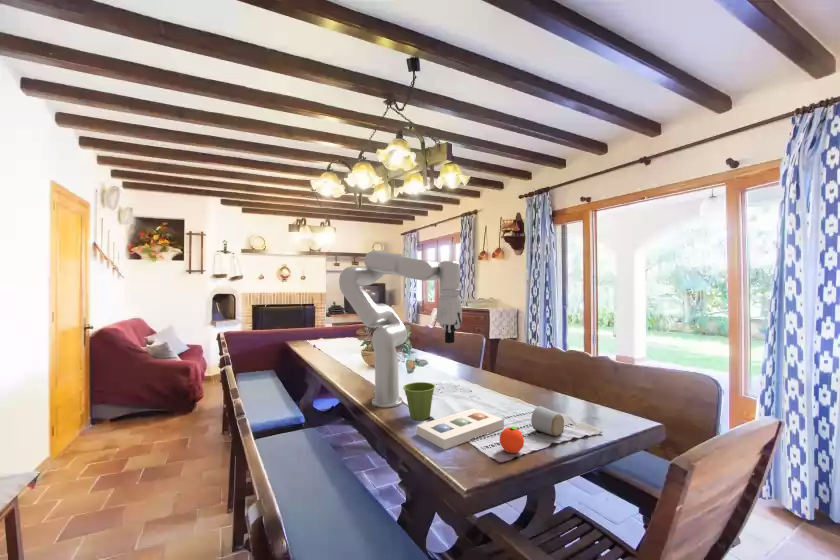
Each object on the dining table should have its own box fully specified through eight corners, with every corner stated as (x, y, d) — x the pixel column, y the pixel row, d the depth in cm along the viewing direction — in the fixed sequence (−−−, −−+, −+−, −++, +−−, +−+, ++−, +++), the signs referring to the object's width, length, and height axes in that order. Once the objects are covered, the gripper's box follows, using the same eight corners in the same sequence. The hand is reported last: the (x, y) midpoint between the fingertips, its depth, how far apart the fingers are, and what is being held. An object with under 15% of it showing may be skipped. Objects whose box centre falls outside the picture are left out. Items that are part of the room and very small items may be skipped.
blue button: (432, 436, 123) (432, 426, 123) (443, 432, 125) (443, 422, 125) (441, 441, 119) (441, 430, 119) (452, 437, 122) (452, 427, 122)
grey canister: (553, 439, 119) (553, 415, 119) (530, 431, 126) (530, 408, 126) (570, 431, 126) (570, 407, 126) (548, 424, 132) (548, 401, 132)
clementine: (508, 443, 117) (508, 420, 117) (529, 449, 113) (529, 425, 113) (495, 452, 111) (495, 428, 111) (517, 459, 107) (517, 434, 107)
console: (416, 434, 125) (416, 425, 125) (474, 416, 140) (474, 408, 140) (444, 449, 114) (444, 439, 114) (503, 428, 129) (503, 419, 129)
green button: (451, 429, 127) (451, 420, 127) (461, 426, 130) (461, 417, 130) (460, 434, 124) (460, 424, 124) (470, 430, 126) (470, 421, 126)
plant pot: (423, 409, 149) (423, 380, 149) (442, 418, 139) (441, 387, 139) (397, 415, 142) (397, 385, 142) (415, 425, 132) (414, 393, 132)
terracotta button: (468, 424, 132) (468, 414, 132) (478, 421, 135) (478, 411, 135) (478, 428, 128) (478, 418, 128) (487, 424, 131) (487, 415, 131)
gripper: (429, 293, 148) (429, 340, 148) (454, 295, 135) (454, 346, 136) (445, 292, 152) (445, 339, 152) (470, 294, 140) (470, 344, 140)
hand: (449, 342), depth 144 cm, fingers closed
